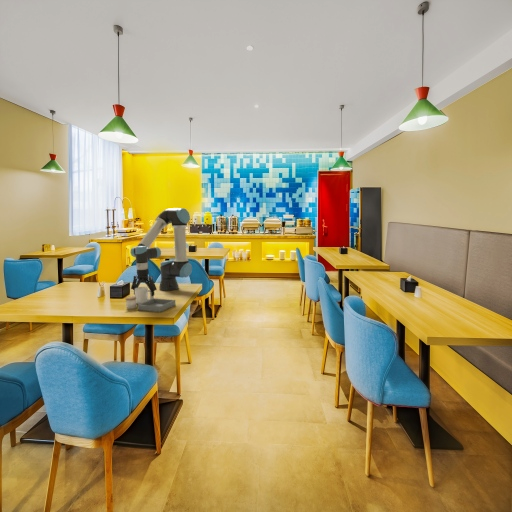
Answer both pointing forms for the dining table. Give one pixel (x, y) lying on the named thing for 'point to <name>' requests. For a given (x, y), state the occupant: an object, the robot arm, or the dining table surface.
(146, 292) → the cup
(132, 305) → the sugar pot
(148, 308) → the bus tub
